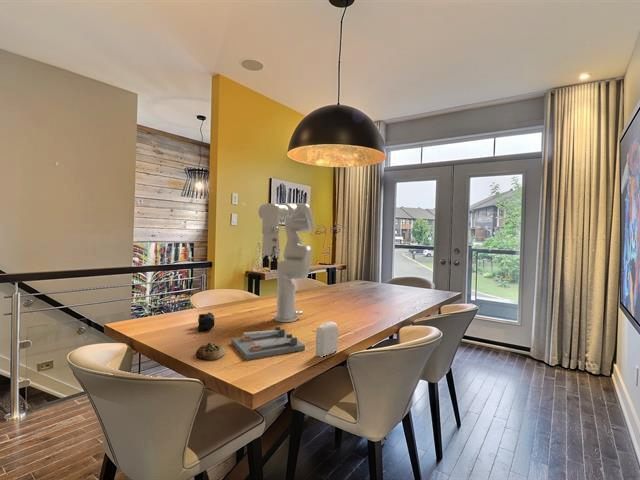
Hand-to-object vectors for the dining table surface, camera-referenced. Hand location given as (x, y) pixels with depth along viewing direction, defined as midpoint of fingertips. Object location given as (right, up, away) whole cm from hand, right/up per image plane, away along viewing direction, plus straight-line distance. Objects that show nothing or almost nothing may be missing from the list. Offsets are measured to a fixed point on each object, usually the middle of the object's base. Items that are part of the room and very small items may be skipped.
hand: (269, 268), depth 152 cm
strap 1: (-1, -27, -10) cm, 29 cm away
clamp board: (+1, -31, -15) cm, 34 cm away
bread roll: (-18, -31, -26) cm, 44 cm away
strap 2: (+5, -28, -20) cm, 35 cm away
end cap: (-31, -29, +7) cm, 43 cm away
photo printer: (+26, -32, -21) cm, 46 cm away
